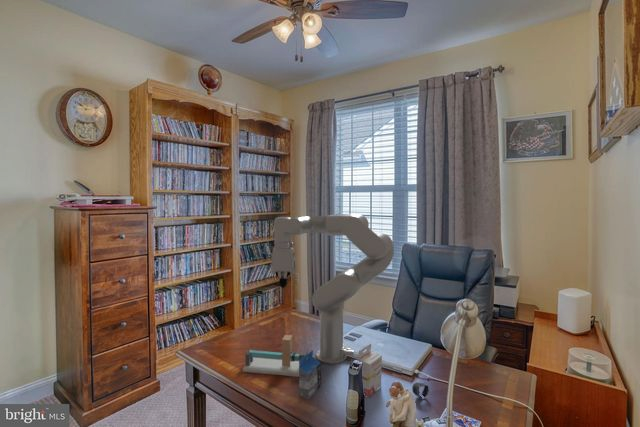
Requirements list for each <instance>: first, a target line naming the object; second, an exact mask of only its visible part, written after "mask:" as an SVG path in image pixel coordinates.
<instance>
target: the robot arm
mask: <svg viewBox="0 0 640 427" xmlns="http://www.w3.org/2000/svg"><path fill="white" fill-rule="evenodd" d="M273 223H274V225H273V226H274V227H273V228H274V229H273V230H274V247H273V248H272V253H271V262H270V264H271V267H270V268H271V271H270V272H271V274H274V275H276V276H277V277H278V279H279V286H280V288H283V289H284V288H286V287H287V286H288V277H289V276H291V275H295V274H296V272H297V271H296V266H297V265H296V264H297V263H296V252H295V248H294V247H295V246H296V243H295V242H293V236H301V235H304V234H311V233H316V234H317V233H319V234H326V235H327V236H329V237H335V236H336V237H337V236H338V237H340V236H341V237H346V239H348V240H349V242H350V243H352V244H353V245H354V246H355V247H356V248H357V249H358V250H360V251H361V252H362V253H363V255H365V256H366V257H365V258H363V259H362V260H360V261H359V262H357V263H356V264H354V265H353V266H351V267H349V268H347V269H346V270H345V269H344V270H343V271H342V272H340V273H339V274H337V275H336V276H334V277H333V278H331V279H330V280H329V281H326V282H325V283H323V284H322V285H321V286H319V287H318V288H316V289H315V291H314V292H313V293H312V297H311V300H312V301H311V302H312V303H311V304H312V305H313V307H314V308H315V309H316V310H317V311H319V312H320V316H319V327H320V328H319V330H320V331H319V336H320V337H319V350H317V351H316V355H315V356H316V360H317V361H319V362H320V363H324V364H331V365H336V364H340V363H342V362H345V361H346V359H347V356H353V357H354V354H355V351H354V350H352V347H348V348H347V347H345V343H344V306H345V302H346V301H348V300H350V299H351V298H352V297H354V296H355V295H356V294H357V293H358V292H359V291H360V290H361V289H362V288H363V287H364V286H365V285H367V284H368V283H370V282H371V281H373V280H374V279H376V278H377V277H378V276H380V275H381V274H382V273H384V271H386V270H387V268H388V267H389V266H390V265H391V262H392V260H393V258H394V252H395V248H394V243H393V240H392V238H391V237H390V236H389V235H387V234H385V233H377V234H376V233H375V232H374V231H373V230H372V229H371V228H370V227H369V219H367V217H366V216H365V215H363V214H358V213H357V214H354V213H353V214H350V213H349V214H327V215H303V216H297V217H296V216H295V217H290V216H278V217H275V219H274V222H273ZM283 272H284V273H283Z"/></svg>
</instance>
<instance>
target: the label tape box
mask: <svg viewBox="0 0 640 427" xmlns="http://www.w3.org/2000/svg"><path fill="white" fill-rule="evenodd" d="M313 354H314V350H311V351H310V352H308V354H307V355H306V356H305V357H303V358H302V359H301V360H300V361H299V378H298V379H299V381H298V382H299V397H300V398H304V399H306V400H310V399H311V398H312V397H313V396H314V395H315V394H316V393H317V392H318V390H319V389H320V388H321V387H322V362H321V361H319V360H318V359H317V358H315V357H313ZM306 358H308V359H307V360H306V361H304V360H305V359H306Z"/></svg>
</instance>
